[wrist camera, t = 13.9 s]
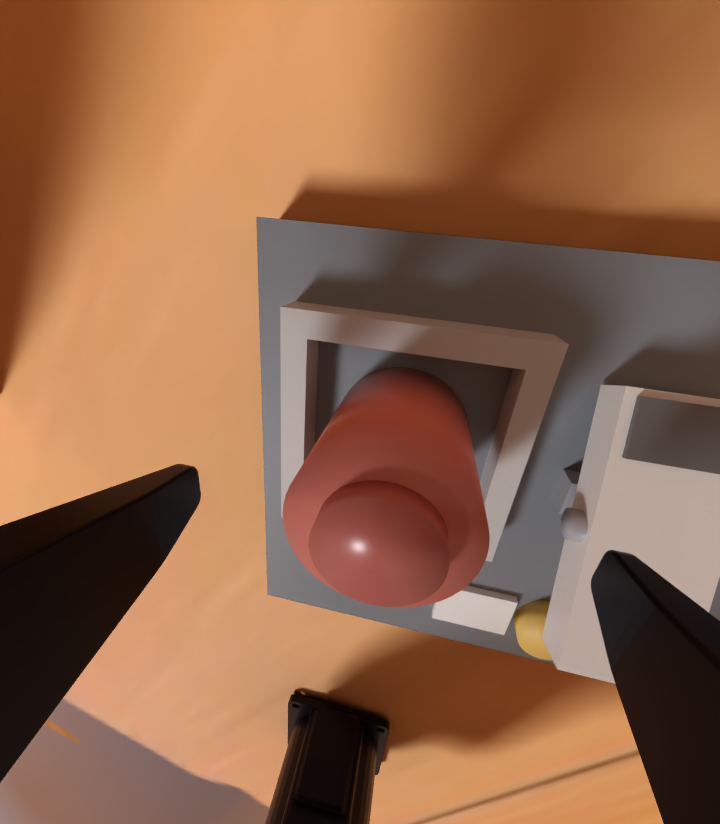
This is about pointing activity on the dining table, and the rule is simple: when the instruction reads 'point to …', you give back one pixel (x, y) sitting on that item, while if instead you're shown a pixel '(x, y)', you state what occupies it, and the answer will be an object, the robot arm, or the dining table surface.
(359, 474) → the cap
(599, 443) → the block
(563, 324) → the panel
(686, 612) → the robot arm
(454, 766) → the dining table surface
